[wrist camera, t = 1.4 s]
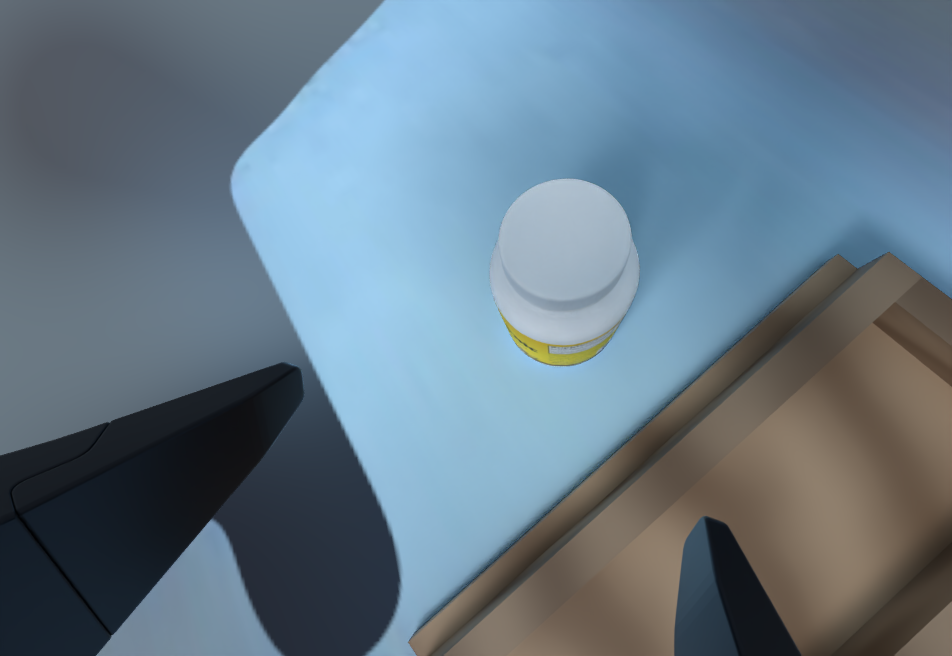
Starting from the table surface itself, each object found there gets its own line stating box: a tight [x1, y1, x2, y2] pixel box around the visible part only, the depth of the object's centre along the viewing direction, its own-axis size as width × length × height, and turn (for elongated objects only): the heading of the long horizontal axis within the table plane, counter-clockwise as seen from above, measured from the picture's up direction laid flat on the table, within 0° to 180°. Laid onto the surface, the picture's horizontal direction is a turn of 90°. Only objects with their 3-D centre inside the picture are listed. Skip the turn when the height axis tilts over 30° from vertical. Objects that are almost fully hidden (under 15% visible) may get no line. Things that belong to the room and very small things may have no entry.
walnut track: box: [408, 252, 952, 656], centre depth 18 cm, size 26×13×3 cm, turn 131°
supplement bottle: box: [489, 179, 640, 367], centre depth 18 cm, size 5×5×10 cm
